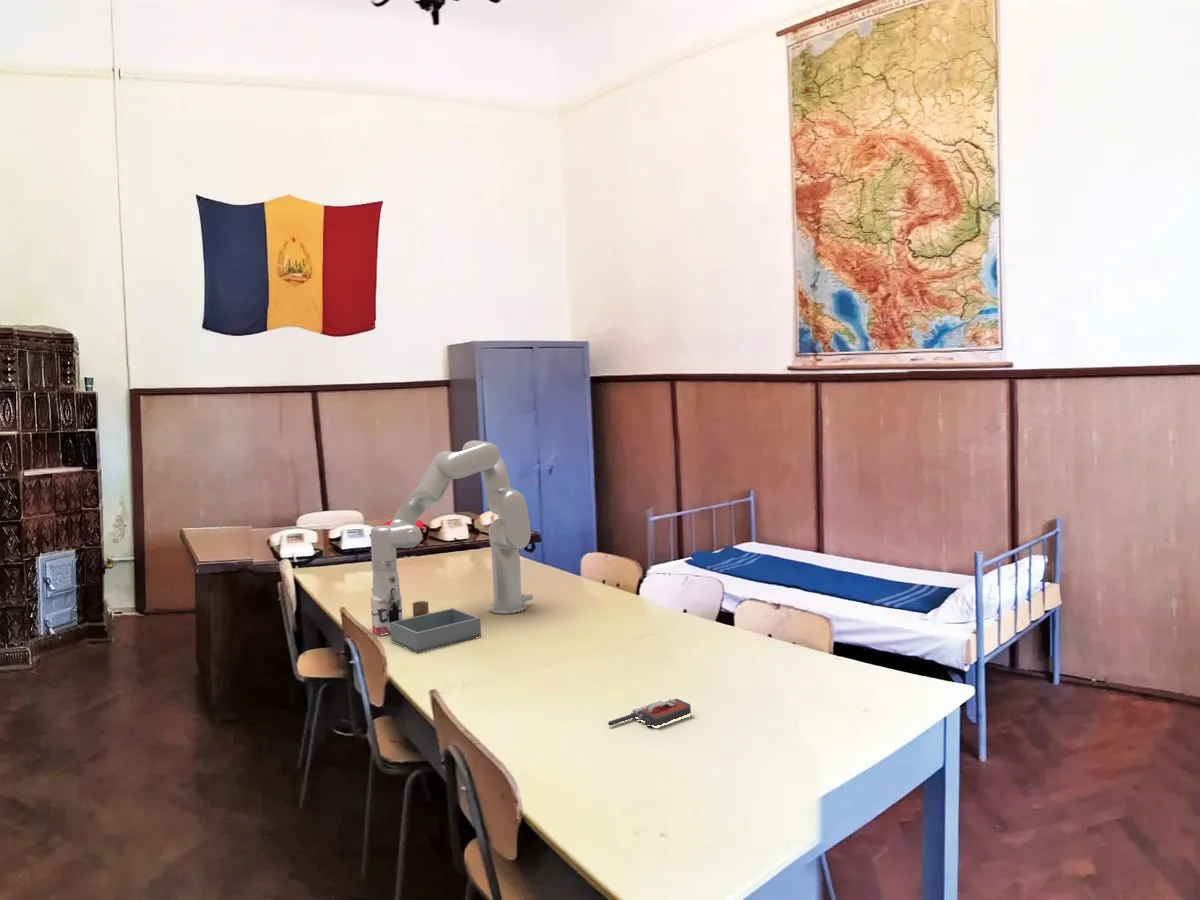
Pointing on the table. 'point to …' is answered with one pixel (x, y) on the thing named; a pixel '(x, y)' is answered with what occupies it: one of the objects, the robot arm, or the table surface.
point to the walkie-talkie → (658, 712)
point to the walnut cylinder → (420, 608)
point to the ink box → (381, 615)
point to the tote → (435, 630)
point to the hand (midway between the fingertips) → (386, 618)
